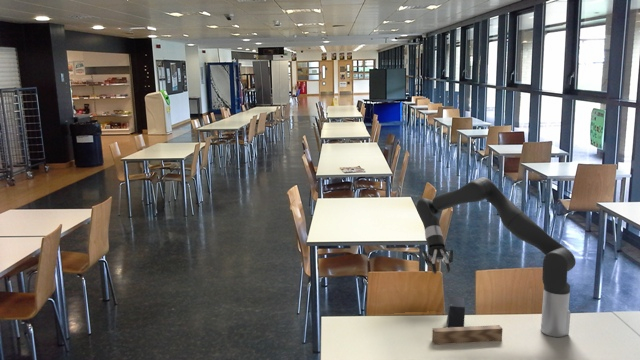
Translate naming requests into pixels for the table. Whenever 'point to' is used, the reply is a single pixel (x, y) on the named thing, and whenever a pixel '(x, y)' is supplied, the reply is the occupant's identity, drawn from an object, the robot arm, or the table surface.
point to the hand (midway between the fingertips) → (441, 272)
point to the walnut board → (467, 334)
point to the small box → (455, 311)
